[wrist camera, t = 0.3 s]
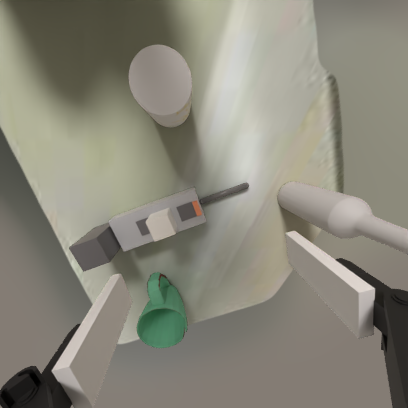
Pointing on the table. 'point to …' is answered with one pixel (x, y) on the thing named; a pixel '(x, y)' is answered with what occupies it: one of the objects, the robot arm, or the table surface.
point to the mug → (162, 314)
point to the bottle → (340, 214)
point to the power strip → (179, 205)
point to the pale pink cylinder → (162, 84)
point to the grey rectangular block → (96, 247)
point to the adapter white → (161, 224)
